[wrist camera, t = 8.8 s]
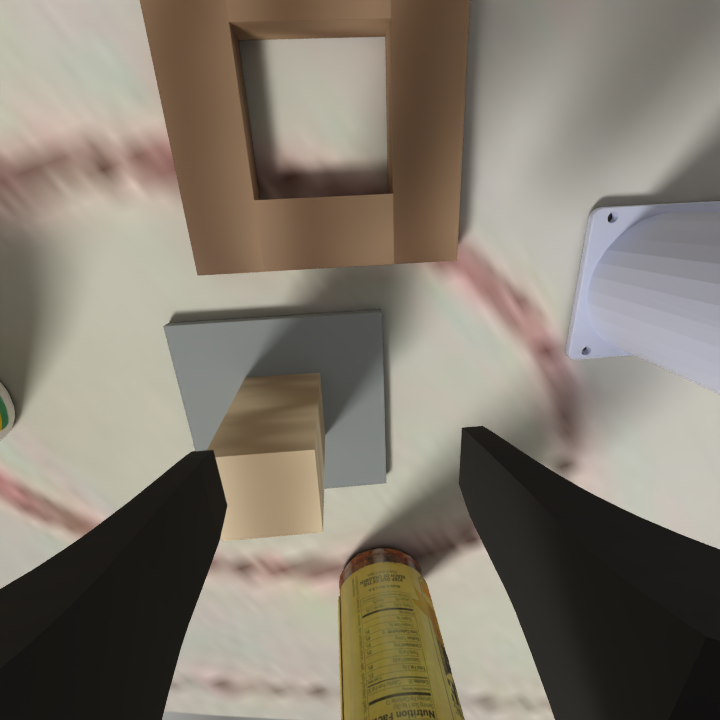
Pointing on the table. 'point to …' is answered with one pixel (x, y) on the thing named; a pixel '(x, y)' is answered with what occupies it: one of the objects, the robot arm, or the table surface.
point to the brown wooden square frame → (235, 149)
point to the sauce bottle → (391, 643)
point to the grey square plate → (285, 357)
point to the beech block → (273, 457)
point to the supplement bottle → (5, 412)
